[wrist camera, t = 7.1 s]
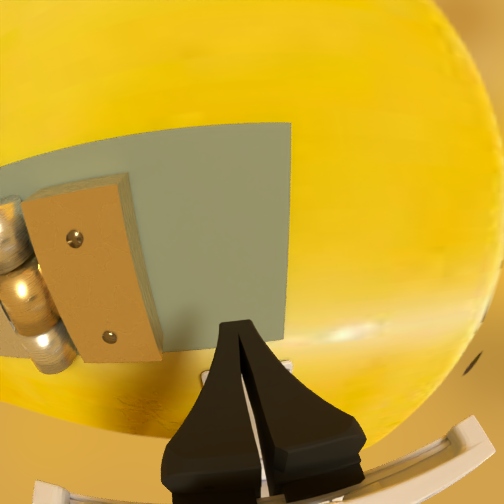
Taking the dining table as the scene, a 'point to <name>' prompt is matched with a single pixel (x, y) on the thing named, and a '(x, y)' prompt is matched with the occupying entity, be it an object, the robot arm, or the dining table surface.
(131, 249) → the brass leaf
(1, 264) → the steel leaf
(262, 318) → the felt mat
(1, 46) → the dining table surface
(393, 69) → the dining table surface
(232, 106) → the dining table surface
